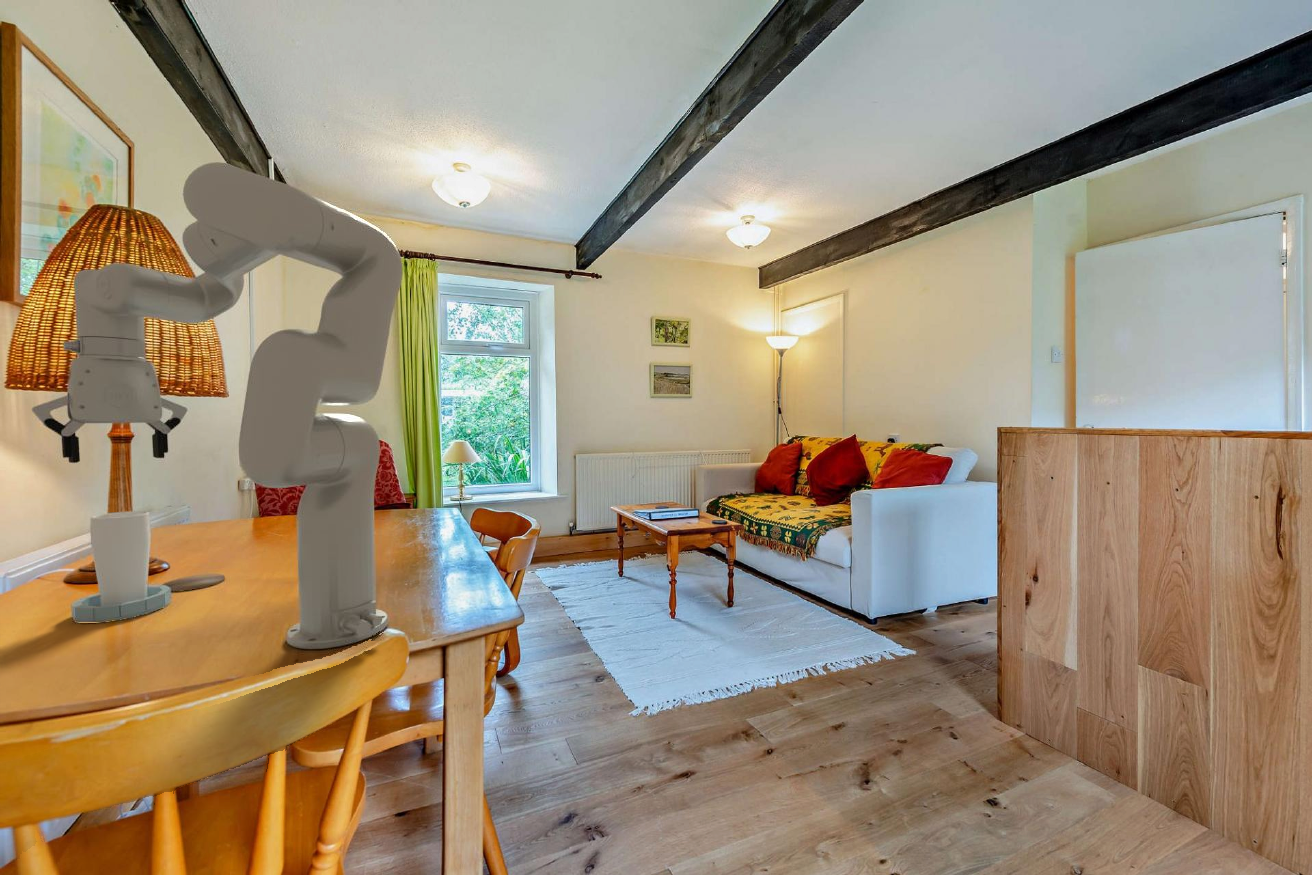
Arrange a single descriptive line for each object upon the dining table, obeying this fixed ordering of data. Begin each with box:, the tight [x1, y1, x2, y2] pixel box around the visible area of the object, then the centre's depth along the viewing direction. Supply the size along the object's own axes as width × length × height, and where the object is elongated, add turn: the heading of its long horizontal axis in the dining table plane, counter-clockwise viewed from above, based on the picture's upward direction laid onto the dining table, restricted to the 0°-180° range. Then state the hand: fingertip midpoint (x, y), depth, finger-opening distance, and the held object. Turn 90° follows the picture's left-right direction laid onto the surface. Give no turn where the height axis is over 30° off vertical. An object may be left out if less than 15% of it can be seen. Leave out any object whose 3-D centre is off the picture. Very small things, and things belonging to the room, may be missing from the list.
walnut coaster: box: [161, 573, 226, 592], centre depth 99 cm, size 9×9×1 cm
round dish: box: [70, 584, 172, 622], centre depth 85 cm, size 11×11×2 cm
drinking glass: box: [89, 510, 152, 606], centre depth 85 cm, size 7×7×15 cm
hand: (118, 459), depth 84 cm, fingers open, 9 cm apart
